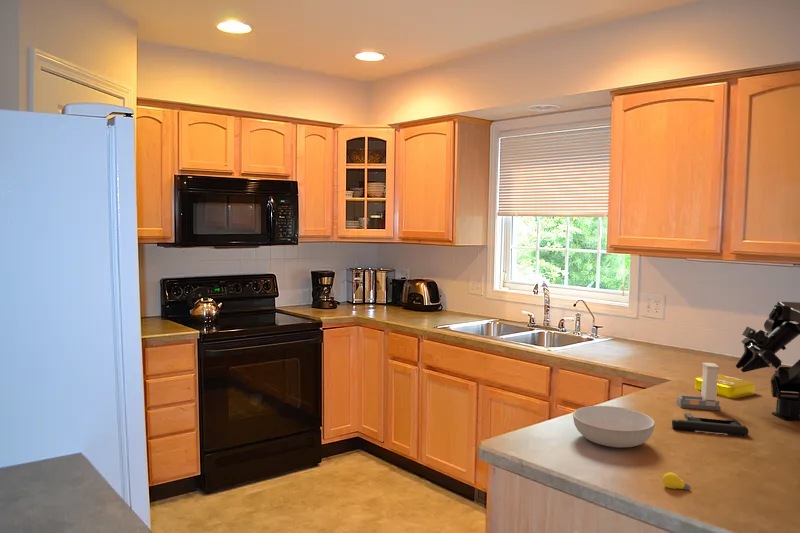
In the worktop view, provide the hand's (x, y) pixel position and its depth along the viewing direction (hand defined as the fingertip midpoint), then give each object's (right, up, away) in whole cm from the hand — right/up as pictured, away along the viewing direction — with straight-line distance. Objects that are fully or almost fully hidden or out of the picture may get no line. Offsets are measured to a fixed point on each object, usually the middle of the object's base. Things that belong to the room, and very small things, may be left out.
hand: (739, 369), depth 200 cm
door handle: (-20, -15, -17) cm, 30 cm away
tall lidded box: (-9, -11, +2) cm, 15 cm away
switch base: (-12, -13, +2) cm, 18 cm away
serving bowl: (-52, -14, -32) cm, 63 cm away
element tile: (+7, -12, +23) cm, 27 cm away
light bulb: (-48, -17, -61) cm, 80 cm away
